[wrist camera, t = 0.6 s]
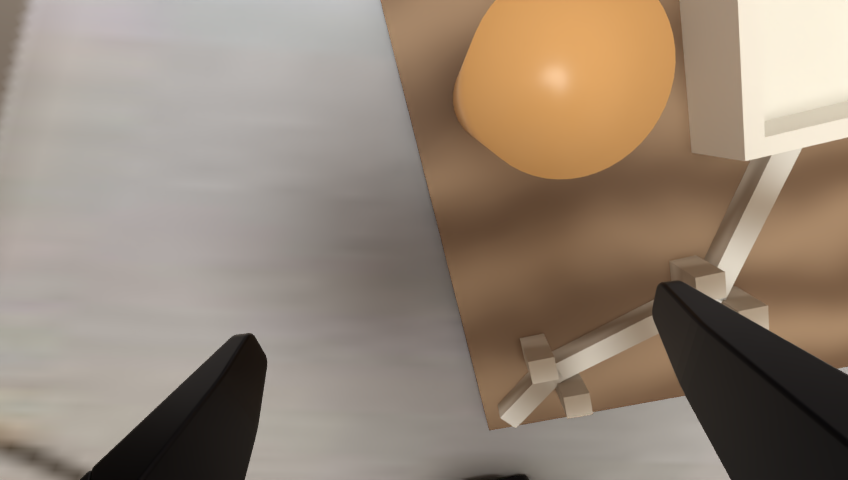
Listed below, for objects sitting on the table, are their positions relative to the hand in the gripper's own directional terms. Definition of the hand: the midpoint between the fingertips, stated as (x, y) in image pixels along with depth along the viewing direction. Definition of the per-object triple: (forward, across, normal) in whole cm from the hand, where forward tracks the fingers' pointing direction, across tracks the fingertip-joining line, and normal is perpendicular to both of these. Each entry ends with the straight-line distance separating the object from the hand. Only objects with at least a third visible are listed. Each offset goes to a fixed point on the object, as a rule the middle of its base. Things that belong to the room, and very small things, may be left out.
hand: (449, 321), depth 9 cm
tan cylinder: (+15, -3, 0) cm, 15 cm away
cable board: (+14, -10, +6) cm, 18 cm away
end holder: (+15, -16, 0) cm, 22 cm away
